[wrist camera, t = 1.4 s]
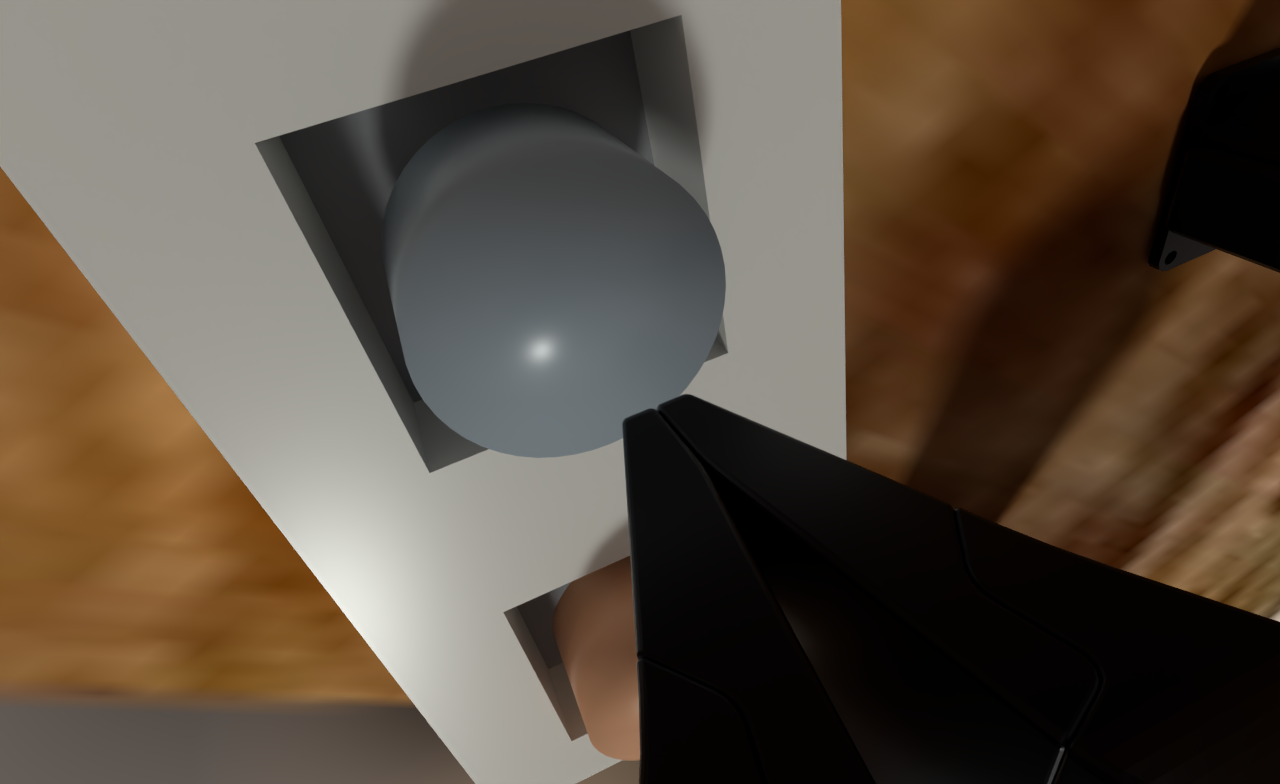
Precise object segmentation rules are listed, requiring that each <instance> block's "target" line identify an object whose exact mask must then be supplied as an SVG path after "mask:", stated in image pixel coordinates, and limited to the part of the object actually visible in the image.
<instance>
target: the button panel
mask: <svg viewBox="0 0 1280 784" xmlns="http://www.w3.org/2000/svg"><path fill="white" fill-rule="evenodd" d="M515 103H536V104H545V105H551V106H556V107H561V108H564V109H567V110H569V111H572V112H575V113H578V114H580V115H582V116H584V117H586V118H588V119H590V120H592V121H594V122H595V123H597V124H598V125H600V126H601V127H602V128H604V129H605V130H607V131H608V132H609V133H611V134H612V135H614V136H615V137H616V138H618V139H619V140H620V141H622V142H623V143H624V144H626V145H627V146H628V147H630V148H631V149H633V150H634V151H635V152H637V153H638V154H639V155H641V156H642V157H643V158H645V159H646V160H647V161H649V162H650V163H652V164H653V165H654V166H656V167H657V168H658V169H660V170H661V171H662V172H664V173H665V174H667V175H668V176H669V177H671V178H672V179H673V180H675V181H676V182H677V183H679V184H680V185H681V186H682V187H683V188H684V189H685V190H686V191H687V192H688V193H689V194H690V195H691V196H692V197H693V198H694V199H695V200H696V201H697V203H698V204H699V205H700V207H701V208H702V209H703V211H704V212H705V213H706V215H707V217H708V219H709V221H710V222H711V224H712V226H713V228H714V230H715V232H716V235H717V238H718V241H719V244H720V246H721V250H722V255H723V260H724V265H725V278H726V291H725V304H724V309H723V314H722V320H721V323H720V327H719V330H718V333H717V336H716V339H715V341H714V343H713V346H712V348H711V350H710V352H709V355H708V357H707V358H706V360H705V362H704V363H703V365H702V367H701V369H700V370H699V372H698V373H697V375H696V376H695V377H694V379H693V380H692V381H691V383H690V384H689V386H688V387H687V388H686V389H685V390H684V391H683V393H682V394H681V395H683V394H691V395H693V396H696V397H698V398H701V399H703V400H705V401H708V402H710V403H712V404H715V405H717V406H719V407H722V408H724V409H727V410H729V411H731V412H734V413H736V414H738V415H741V416H743V417H745V418H748V419H750V420H753V421H755V422H757V423H760V424H762V425H764V426H767V427H769V428H771V429H774V430H776V431H779V432H781V433H783V434H786V435H788V436H790V437H793V438H795V439H797V440H800V441H802V442H804V443H807V444H809V445H812V446H814V447H816V448H819V449H821V450H823V451H826V452H828V453H830V454H833V455H835V456H838V457H840V458H842V459H845V460H846V386H845V301H844V216H843V131H842V47H841V0H0V167H1V168H2V169H3V171H4V172H5V173H6V174H7V176H8V177H9V178H10V180H11V181H12V182H13V184H14V185H15V186H16V187H17V189H18V190H19V191H20V193H21V194H22V195H23V197H24V198H25V199H26V200H27V202H28V203H29V204H30V206H31V207H32V208H33V210H34V211H35V212H36V213H37V215H38V216H39V217H40V219H41V220H42V221H43V223H44V224H45V225H46V226H47V228H48V229H49V230H50V232H51V233H52V234H53V236H54V237H55V238H56V239H57V241H58V242H59V243H60V245H61V246H62V247H63V249H64V250H65V251H66V252H67V254H68V255H69V256H70V258H71V259H72V260H73V262H74V263H75V264H76V265H77V267H78V268H79V269H80V271H81V272H82V273H83V275H84V276H85V277H86V278H87V280H88V281H89V282H90V284H91V285H92V286H93V288H94V289H95V290H96V291H97V293H98V294H99V295H100V297H101V298H102V299H103V301H104V302H105V303H106V304H107V306H108V307H109V308H110V310H111V311H112V312H113V313H114V315H115V316H116V317H117V319H118V320H119V321H120V323H121V324H122V325H123V326H124V328H125V329H126V330H127V332H128V333H129V334H130V336H131V337H132V338H133V339H134V341H135V342H136V343H137V345H138V346H139V347H140V349H141V350H142V351H143V352H144V354H145V355H146V356H147V358H148V359H149V360H150V362H151V363H152V364H153V365H154V367H155V368H156V369H157V371H158V372H159V373H160V375H161V376H162V377H163V378H164V380H165V381H166V382H167V384H168V385H169V386H170V388H171V389H172V390H173V391H174V393H175V394H176V395H177V397H178V398H179V399H180V401H181V402H182V403H183V404H184V406H185V407H186V408H187V410H188V411H189V412H190V414H191V415H192V416H193V417H194V419H195V420H196V421H197V423H198V424H199V425H200V427H201V428H202V429H203V430H204V432H205V433H206V434H207V436H208V437H209V438H210V440H211V441H212V442H213V443H214V445H215V446H216V447H217V449H218V450H219V451H220V453H221V454H222V455H223V456H224V458H225V459H226V460H227V462H228V463H229V464H230V466H231V467H232V468H233V469H234V471H235V472H236V473H237V475H238V476H239V477H240V479H241V480H242V481H243V482H244V484H245V485H246V486H247V488H248V489H249V490H250V492H251V493H252V494H253V495H254V497H255V498H256V499H257V501H258V502H259V503H260V504H261V506H262V507H263V508H264V510H265V511H266V512H267V514H268V515H269V516H270V517H271V519H272V520H273V521H274V523H275V524H276V525H277V527H278V528H279V529H280V530H281V532H282V533H283V534H284V536H285V537H286V538H287V540H288V541H289V542H290V543H291V545H292V546H293V547H294V549H295V550H296V551H297V553H298V554H299V555H300V556H301V558H302V559H303V560H304V562H305V563H306V564H307V566H308V567H309V568H310V569H311V571H312V572H313V573H314V575H315V576H316V577H317V579H318V580H319V581H320V582H321V584H322V585H323V586H324V588H325V589H326V590H327V592H328V593H329V594H330V595H331V597H332V598H333V599H334V601H335V602H336V603H337V605H338V606H339V607H340V608H341V610H342V611H343V612H344V614H345V615H346V616H347V618H348V619H349V620H350V621H351V623H352V624H353V625H354V627H355V628H356V629H357V631H358V632H359V633H360V634H361V636H362V637H363V638H364V640H365V641H366V642H367V644H368V645H369V646H370V647H371V649H372V650H373V651H374V653H375V654H376V655H377V657H378V658H379V659H380V660H381V662H382V663H383V664H384V666H385V667H386V668H387V670H388V671H389V672H390V673H391V675H392V676H393V677H394V679H395V680H396V681H397V683H398V684H399V685H400V686H401V688H402V689H403V690H404V692H405V693H406V694H407V696H408V697H409V698H410V699H411V701H412V702H413V703H414V705H415V706H416V707H417V708H418V710H419V711H420V712H421V714H422V715H423V716H424V718H425V719H426V720H427V721H428V723H429V724H430V725H431V727H432V728H433V729H434V730H435V732H436V733H437V734H438V736H439V737H440V738H441V740H442V741H443V742H444V744H445V745H446V746H447V747H448V749H449V750H450V751H451V753H452V754H453V755H454V757H455V758H456V759H457V760H458V762H459V763H460V764H461V766H462V767H463V768H464V769H465V771H466V772H467V773H468V775H469V776H470V777H471V778H472V780H473V781H474V782H475V784H576V783H578V782H580V781H582V780H583V779H586V778H588V777H590V776H592V775H594V774H596V773H598V772H600V771H602V770H604V769H606V768H608V767H610V766H612V765H613V764H615V763H618V762H619V761H622V760H620V759H614V758H611V757H608V756H606V755H604V754H602V753H600V752H599V751H598V750H597V749H596V748H595V747H594V746H593V745H592V743H591V742H590V739H589V736H588V733H587V730H586V727H585V724H584V721H583V719H582V716H581V713H580V710H579V707H578V704H577V701H576V698H575V695H574V692H573V690H572V687H571V684H570V681H569V678H568V675H567V672H566V669H565V666H564V663H563V661H562V658H561V655H560V652H559V649H558V646H557V643H556V640H555V637H554V634H553V627H552V626H553V616H554V613H555V609H556V606H557V604H558V602H559V600H560V598H561V596H562V594H563V593H564V591H565V590H566V588H567V587H568V586H569V584H570V583H571V582H572V581H574V580H576V579H579V578H581V577H583V576H585V575H587V574H590V573H592V572H594V571H596V570H599V569H601V568H603V567H605V566H608V565H610V564H612V563H614V562H617V561H619V560H621V559H623V558H625V557H628V556H630V544H629V528H628V512H627V496H626V480H625V464H624V448H623V438H622V439H620V440H618V441H616V442H614V443H611V444H609V445H606V446H603V447H600V448H598V449H595V450H591V451H587V452H583V453H579V454H575V455H568V456H561V457H547V458H533V457H521V456H514V455H509V454H504V453H500V452H497V451H494V450H491V449H488V448H485V447H482V446H480V445H478V444H476V443H474V442H472V441H469V440H467V439H465V438H464V437H462V436H461V435H459V434H458V433H456V432H455V431H453V430H452V429H450V428H449V427H448V426H447V425H446V424H445V423H444V422H442V421H441V420H440V419H439V418H438V417H437V416H436V415H435V414H434V413H433V412H432V410H431V409H430V408H429V407H428V406H427V404H426V403H425V402H424V401H423V399H422V397H421V396H420V394H419V392H418V391H417V389H416V387H415V386H414V384H413V381H412V379H411V376H410V374H409V371H408V369H407V366H406V363H405V358H404V354H403V350H402V345H401V341H400V336H399V332H398V328H397V323H396V319H395V314H394V310H393V305H392V301H391V297H390V292H389V288H388V283H387V279H386V274H385V270H384V266H383V261H382V248H381V238H382V224H383V219H384V215H385V210H386V205H387V203H388V200H389V197H390V195H391V192H392V189H393V187H394V185H395V183H396V181H397V180H398V178H399V176H400V174H401V172H402V170H403V169H404V168H405V166H406V165H407V163H408V162H409V161H410V159H411V158H412V157H413V155H414V154H415V153H416V152H417V151H418V150H419V149H420V148H421V147H422V146H423V145H424V144H425V143H426V142H427V141H428V140H429V139H430V138H431V137H433V136H434V135H435V134H437V133H438V132H439V131H441V130H442V129H443V128H445V127H446V126H448V125H450V124H451V123H453V122H455V121H457V120H458V119H460V118H462V117H464V116H467V115H469V114H472V113H474V112H477V111H479V110H482V109H486V108H490V107H494V106H499V105H504V104H515Z"/></svg>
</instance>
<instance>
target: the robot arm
mask: <svg viewBox="0 0 1280 784" xmlns="http://www.w3.org/2000/svg"><path fill="white" fill-rule="evenodd" d="M1215 249H1218V250H1220V251H1223V252H1226V253H1228V254H1231V255H1234V256H1236V257H1239V258H1242V259H1244V260H1247V261H1250V262H1252V263H1255V264H1258V265H1260V266H1263V267H1266V268H1268V269H1271V270H1274V271H1276V272H1279V273H1280V48H1278V49H1276V50H1273V51H1270V52H1268V53H1265V54H1262V55H1260V56H1257V57H1254V58H1252V59H1249V60H1246V61H1244V62H1241V63H1238V64H1236V65H1233V66H1230V67H1228V68H1225V69H1222V70H1220V71H1217V72H1214V73H1212V74H1211V75H1209V76H1208V77H1207V78H1206V79H1205V80H1204V81H1203V82H1202V83H1201V85H1200V86H1199V88H1198V90H1197V92H1196V95H1195V98H1194V102H1193V105H1192V109H1191V112H1190V116H1189V119H1188V123H1187V126H1186V130H1185V133H1184V137H1183V140H1182V144H1181V147H1180V151H1179V154H1178V157H1177V161H1176V164H1175V168H1174V171H1173V175H1172V178H1171V182H1170V185H1169V189H1168V192H1167V196H1166V199H1165V203H1164V206H1163V210H1162V213H1161V217H1160V220H1159V224H1158V227H1157V231H1156V234H1155V238H1154V241H1153V245H1152V248H1151V252H1150V255H1149V259H1148V264H1149V266H1151V267H1154V268H1156V269H1158V270H1161V271H1166V270H1169V269H1171V268H1174V267H1176V266H1178V265H1180V264H1183V263H1185V262H1187V261H1190V260H1192V259H1194V258H1197V257H1199V256H1201V255H1204V254H1206V253H1208V252H1210V251H1213V250H1215ZM622 432H623V448H624V464H625V480H626V496H627V512H628V528H629V544H630V561H631V577H632V593H633V609H634V625H635V641H636V656H637V659H638V661H637V681H638V696H639V732H640V768H639V784H1280V622H1278V621H1275V620H1272V619H1269V618H1266V617H1263V616H1260V615H1257V614H1254V613H1251V612H1248V611H1245V610H1242V609H1239V608H1236V607H1233V606H1230V605H1227V604H1224V603H1221V602H1218V601H1215V600H1212V599H1209V598H1206V597H1203V596H1199V595H1196V594H1193V593H1190V592H1187V591H1184V590H1181V589H1178V588H1175V587H1172V586H1169V585H1166V584H1163V583H1160V582H1157V581H1154V580H1151V579H1148V578H1145V577H1142V576H1139V575H1136V574H1133V573H1130V572H1127V571H1124V570H1121V569H1118V568H1115V567H1112V566H1109V565H1106V564H1103V563H1101V562H1098V561H1095V560H1092V559H1089V558H1086V557H1083V556H1081V555H1078V554H1075V553H1072V552H1069V551H1066V550H1064V549H1061V548H1058V547H1055V546H1052V545H1049V544H1047V543H1044V542H1042V541H1039V540H1037V539H1034V538H1032V537H1029V536H1027V535H1024V534H1022V533H1019V532H1017V531H1014V530H1012V529H1009V528H1007V527H1004V526H1002V525H999V524H997V523H994V522H992V521H989V520H987V519H985V518H982V517H980V516H978V515H975V514H973V513H970V512H968V511H966V510H963V509H961V508H956V509H955V510H954V511H953V508H952V506H951V505H950V504H949V503H946V502H944V501H941V500H939V499H937V498H934V497H932V496H930V495H927V494H925V493H923V492H920V491H918V490H915V489H913V488H911V487H908V486H906V485H904V484H901V483H899V482H897V481H894V480H892V479H889V478H887V477H885V476H882V475H880V474H878V473H875V472H873V471H871V470H868V469H866V468H864V467H861V466H859V465H856V464H854V463H852V462H849V461H847V460H845V459H842V458H840V457H838V456H835V455H833V454H830V453H828V452H826V451H823V450H821V449H819V448H816V447H814V446H812V445H809V444H807V443H804V442H802V441H800V440H797V439H795V438H793V437H790V436H788V435H786V434H783V433H781V432H779V431H776V430H774V429H771V428H769V427H767V426H764V425H762V424H760V423H757V422H755V421H753V420H750V419H748V418H745V417H743V416H741V415H738V414H736V413H734V412H731V411H729V410H727V409H724V408H722V407H719V406H717V405H715V404H712V403H710V402H708V401H705V400H703V399H701V398H698V397H696V396H693V395H691V394H683V395H680V396H678V397H676V398H673V399H671V400H668V401H666V402H663V403H661V404H659V405H658V407H657V409H652V408H649V409H646V410H644V411H641V412H639V413H636V414H634V415H631V416H629V417H626V418H625V419H624V420H623V422H622Z"/></svg>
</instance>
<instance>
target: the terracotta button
mask: <svg viewBox="0 0 1280 784" xmlns="http://www.w3.org/2000/svg"><path fill="white" fill-rule="evenodd" d="M552 627H553V634H554V637H555V640H556V643H557V646H558V649H559V652H560V655H561V658H562V661H563V663H564V666H565V669H566V672H567V675H568V678H569V681H570V684H571V687H572V690H573V692H574V695H575V698H576V701H577V704H578V707H579V710H580V713H581V716H582V719H583V721H584V724H585V727H586V730H587V733H588V736H589V739H590V742H591V743H592V745H593V746H594V747H595V748H596V749H597V750H598V751H599V752H600V753H602V754H604V755H606V756H608V757H611V758H614V759H620V760H640V732H639V696H638V681H637V661H638V659H637V656H636V641H635V625H634V609H633V593H632V577H631V561H630V556H628V557H625V558H623V559H621V560H619V561H617V562H614V563H612V564H610V565H608V566H605V567H603V568H601V569H599V570H596V571H594V572H592V573H590V574H587V575H585V576H583V577H581V578H579V579H576V580H574V581H572V582H571V583H570V584H569V586H568V587H567V588H566V590H565V591H564V593H563V594H562V596H561V598H560V600H559V602H558V604H557V606H556V609H555V613H554V616H553V626H552Z"/></svg>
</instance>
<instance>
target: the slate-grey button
mask: <svg viewBox="0 0 1280 784" xmlns="http://www.w3.org/2000/svg"><path fill="white" fill-rule="evenodd" d="M381 248H382V261H383V266H384V270H385V274H386V279H387V283H388V288H389V292H390V297H391V301H392V305H393V310H394V314H395V319H396V323H397V328H398V332H399V336H400V341H401V345H402V350H403V354H404V358H405V363H406V366H407V369H408V371H409V374H410V376H411V379H412V381H413V384H414V386H415V387H416V389H417V391H418V392H419V394H420V396H421V397H422V399H423V401H424V402H425V403H426V404H427V406H428V407H429V408H430V409H431V410H432V412H433V413H434V414H435V415H436V416H437V417H438V418H439V419H440V420H441V421H442V422H444V423H445V424H446V425H447V426H448V427H449V428H450V429H452V430H453V431H455V432H456V433H458V434H459V435H461V436H462V437H464V438H465V439H467V440H469V441H472V442H474V443H476V444H478V445H480V446H482V447H485V448H488V449H491V450H494V451H497V452H500V453H504V454H509V455H514V456H521V457H533V458H547V457H561V456H568V455H575V454H579V453H583V452H587V451H591V450H595V449H598V448H600V447H603V446H606V445H609V444H611V443H614V442H616V441H618V440H620V439H622V438H623V432H622V422H623V420H624V419H625V418H626V417H629V416H631V415H634V414H636V413H639V412H641V411H644V410H646V409H649V408H652V409H657V407H658V405H659V404H661V403H663V402H666V401H668V400H671V399H673V398H676V397H678V396H680V395H681V394H682V393H683V391H684V390H685V389H686V388H687V387H688V386H689V384H690V383H691V381H692V380H693V379H694V377H695V376H696V375H697V373H698V372H699V370H700V369H701V367H702V365H703V363H704V362H705V360H706V358H707V357H708V355H709V352H710V350H711V348H712V346H713V343H714V341H715V339H716V336H717V333H718V330H719V327H720V323H721V320H722V314H723V309H724V304H725V291H726V278H725V265H724V260H723V255H722V250H721V246H720V244H719V241H718V238H717V235H716V232H715V230H714V228H713V226H712V224H711V222H710V221H709V219H708V217H707V215H706V213H705V212H704V211H703V209H702V208H701V207H700V205H699V204H698V203H697V201H696V200H695V199H694V198H693V197H692V196H691V195H690V194H689V193H688V192H687V191H686V190H685V189H684V188H683V187H682V186H681V185H680V184H679V183H677V182H676V181H675V180H673V179H672V178H671V177H669V176H668V175H667V174H665V173H664V172H662V171H661V170H660V169H658V168H657V167H656V166H654V165H653V164H652V163H650V162H649V161H647V160H646V159H645V158H643V157H642V156H641V155H639V154H638V153H637V152H635V151H634V150H633V149H631V148H630V147H628V146H627V145H626V144H624V143H623V142H622V141H620V140H619V139H618V138H616V137H615V136H614V135H612V134H611V133H609V132H608V131H607V130H605V129H604V128H602V127H601V126H600V125H598V124H597V123H595V122H594V121H592V120H590V119H588V118H586V117H584V116H582V115H580V114H578V113H575V112H572V111H569V110H567V109H564V108H561V107H556V106H551V105H545V104H536V103H515V104H504V105H499V106H494V107H490V108H486V109H482V110H479V111H477V112H474V113H472V114H469V115H467V116H464V117H462V118H460V119H458V120H457V121H455V122H453V123H451V124H450V125H448V126H446V127H445V128H443V129H442V130H441V131H439V132H438V133H437V134H435V135H434V136H433V137H431V138H430V139H429V140H428V141H427V142H426V143H425V144H424V145H423V146H422V147H421V148H420V149H419V150H418V151H417V152H416V153H415V154H414V155H413V157H412V158H411V159H410V161H409V162H408V163H407V165H406V166H405V168H404V169H403V170H402V172H401V174H400V176H399V178H398V180H397V181H396V183H395V185H394V187H393V189H392V192H391V195H390V197H389V200H388V203H387V205H386V210H385V215H384V219H383V224H382V238H381Z"/></svg>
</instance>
